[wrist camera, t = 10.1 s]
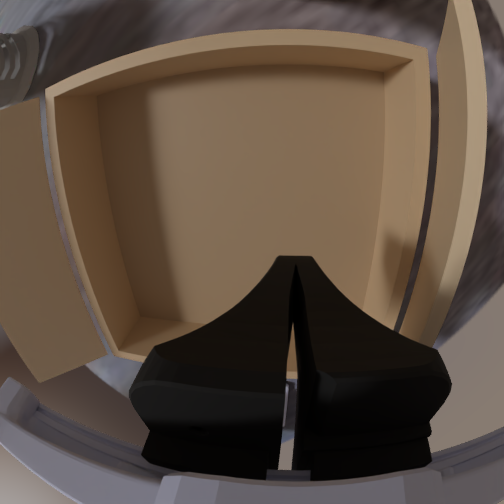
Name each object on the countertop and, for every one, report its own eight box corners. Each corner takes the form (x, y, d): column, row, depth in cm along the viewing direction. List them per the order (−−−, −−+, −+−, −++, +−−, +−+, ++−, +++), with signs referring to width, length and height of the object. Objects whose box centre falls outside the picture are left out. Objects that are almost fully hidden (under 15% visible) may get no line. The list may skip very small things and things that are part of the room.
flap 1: (39, 382, 15) (38, 378, 15) (107, 354, 19) (106, 350, 19) (-54, 135, 6) (-52, 135, 7) (39, 96, 10) (39, 98, 11)
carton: (364, 330, 21) (375, 376, 17) (138, 318, 24) (113, 355, 19) (391, 63, 12) (427, 48, 8) (93, 88, 15) (45, 89, 10)
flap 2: (381, 375, 16) (389, 377, 16) (348, 461, 11) (357, 464, 11) (436, 56, 8) (448, 58, 7) (450, -11, 2) (473, -5, 2)
